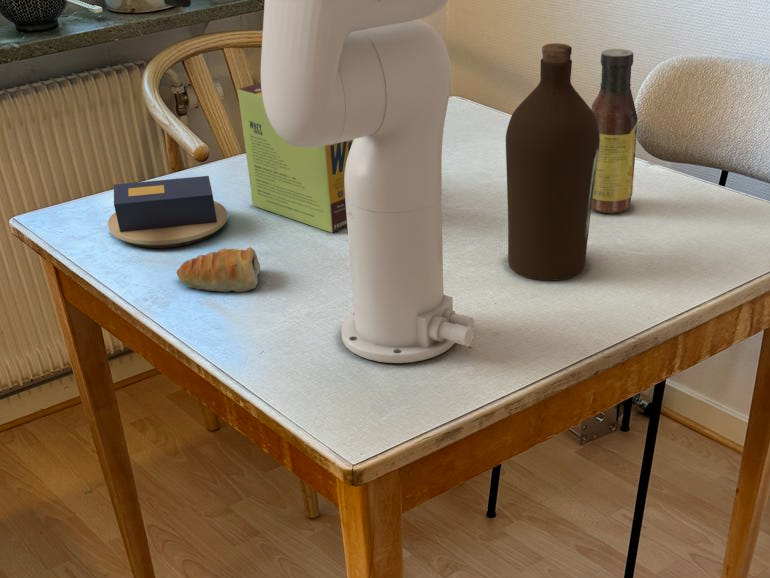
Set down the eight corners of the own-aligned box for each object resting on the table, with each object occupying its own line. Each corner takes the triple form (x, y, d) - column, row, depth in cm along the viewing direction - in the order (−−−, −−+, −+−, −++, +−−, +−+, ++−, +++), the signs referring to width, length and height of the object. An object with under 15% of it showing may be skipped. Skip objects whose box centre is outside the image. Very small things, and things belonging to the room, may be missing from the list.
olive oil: (514, 287, 118) (520, 62, 103) (494, 250, 126) (498, 37, 111) (601, 279, 120) (619, 57, 104) (576, 243, 128) (590, 32, 112)
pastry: (176, 296, 116) (170, 265, 113) (183, 271, 121) (177, 241, 119) (258, 292, 116) (254, 261, 114) (262, 268, 122) (258, 238, 119)
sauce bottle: (639, 210, 136) (655, 55, 124) (599, 218, 134) (612, 61, 122) (614, 194, 141) (627, 43, 129) (575, 201, 139) (585, 49, 127)
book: (222, 195, 138) (217, 163, 135) (232, 237, 127) (227, 204, 124) (108, 206, 135) (101, 174, 132) (108, 250, 123) (100, 217, 121)
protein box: (333, 234, 130) (322, 111, 120) (251, 206, 137) (235, 88, 128) (387, 209, 136) (380, 91, 127) (306, 184, 144) (294, 70, 134)
